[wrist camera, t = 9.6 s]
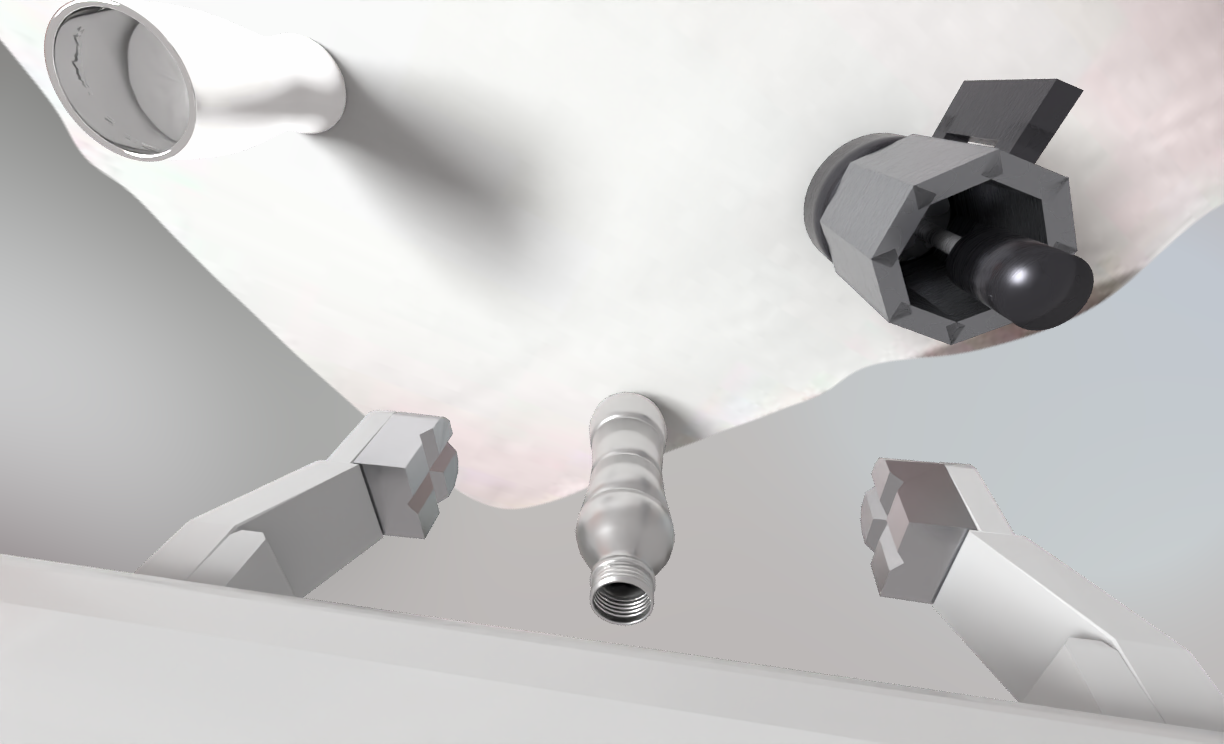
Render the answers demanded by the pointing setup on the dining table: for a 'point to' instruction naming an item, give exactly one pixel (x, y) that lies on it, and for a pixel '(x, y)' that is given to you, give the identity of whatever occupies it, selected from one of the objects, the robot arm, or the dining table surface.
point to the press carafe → (929, 172)
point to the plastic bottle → (625, 508)
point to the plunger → (1006, 270)
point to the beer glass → (185, 80)
